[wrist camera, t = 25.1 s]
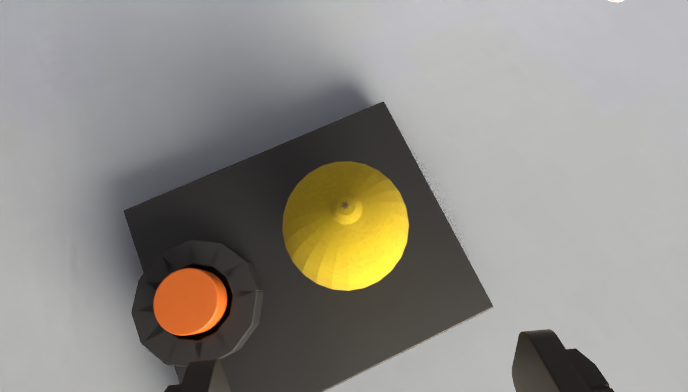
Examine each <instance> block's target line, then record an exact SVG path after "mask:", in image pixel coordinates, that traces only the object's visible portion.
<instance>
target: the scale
mask: <svg viewBox="0 0 688 392" xmlns="http://www.w3.org/2000/svg"><path fill="white" fill-rule="evenodd" d="M345 161H352V162H357V163H362V164H366V165H368V166H370V167H372V168H374V169H376V170H378V171H380V172H381V173H382V174H383V175H385V176H386V177H387V178H388V179H390V180H391V182H392V183H393V184H394V186H395V187H396V188H397V189H398V191H399V192H400V194H401V196H402V199H403V201H404V203H405V206H406V209H407V216H408V222H409V228H408V238H407V243H406V246H405V249H404V251H403V254H402V257H401V258H400V260H399V261H398V262H397V264H396V265H395V267H394V268H393V269H392V271H391V272H389V273H388V274H387V275H386V276H385V277H383V278H382V279H381V280H380V281H378V282H376V283H374V284H372V285H370V286H367V287H365V288H361V289H355V290H350V291H346V290H333V289H330V288H327V287H324V286H321V285H319V284H316V283H315V282H313V281H312V280H311V279H309V278H308V277H306V276H305V275H303V273H302V272H301V271H300V270H299V269H298V268H297V266H296V265H295V264H294V263H293V261H292V259H291V257H290V255H289V253H288V251H287V249H286V247H285V242H284V237H283V231H282V228H283V214H284V210H285V207H286V204H287V201H288V198H289V196H290V195H291V193H292V192H293V190H294V188H295V187H296V185H297V184H298V183H299V182H300V181H301V180H302V179H303V178H304V177H305V176H306V175H307V174H309V173H310V172H312V171H314V170H315V169H317V168H319V167H321V166H323V165H326V164H330V163H333V162H345ZM124 213H125V216H126V219H127V222H128V226H129V229H130V232H131V235H132V238H133V241H134V244H135V247H136V250H137V253H138V256H139V259H140V262H141V265H142V268H143V271H144V274H143V275H142V276H141V277H140V279H139V281H138V286H137V290H136V295H135V299H134V304H133V308H132V316H133V319H134V322H135V325H136V328H137V332H138V335H139V338H140V341H141V343H142V345H143V346H145V347H146V348H147V349H148V350H149V351H151V352H152V353H153V354H154V355H155V356H157V357H158V358H159V359H160V360H162V361H163V362H164V363H165V364H167V365H174V366H175V369H176V372H177V375H178V378H179V381H180V384H182V381H183V378H184V375H185V372H186V369H187V366H188V364H189V363H190V362H192V361H201V360H212V359H220V360H221V361H222V364H223V367H224V370H225V373H226V376H227V380H228V383H229V386H230V389H231V392H324V391H326V390H328V389H330V388H332V387H334V386H336V385H338V384H340V383H342V382H344V381H346V380H348V379H350V378H352V377H354V376H356V375H358V374H360V373H362V372H364V371H366V370H368V369H370V368H372V367H374V366H376V365H378V364H380V363H382V362H384V361H386V360H388V359H391V358H393V357H395V356H397V355H399V354H401V353H403V352H405V351H407V350H409V349H411V348H413V347H415V346H417V345H419V344H421V343H423V342H425V341H427V340H429V339H431V338H433V337H435V336H437V335H439V334H441V333H443V332H445V331H447V330H449V329H451V328H453V327H455V326H457V325H459V324H461V323H463V322H465V321H467V320H469V319H471V318H473V317H475V316H477V315H479V314H481V313H483V312H485V311H487V310H489V309H491V308H493V305H492V303H491V301H490V299H489V298H488V296H487V294H486V292H485V290H484V288H483V286H482V284H481V283H480V281H479V279H478V277H477V275H476V273H475V271H474V269H473V268H472V266H471V264H470V262H469V260H468V258H467V256H466V254H465V253H464V251H463V249H462V247H461V245H460V243H459V241H458V239H457V238H456V236H455V234H454V232H453V230H452V228H451V226H450V224H449V223H448V221H447V219H446V217H445V215H444V213H443V211H442V209H441V208H440V206H439V204H438V202H437V200H436V198H435V196H434V194H433V193H432V191H431V189H430V187H429V185H428V183H427V181H426V179H425V178H424V176H423V174H422V172H421V170H420V168H419V166H418V164H417V163H416V161H415V159H414V157H413V155H412V153H411V151H410V150H409V148H408V146H407V144H406V142H405V140H404V138H403V136H402V135H401V133H400V131H399V129H398V127H397V125H396V123H395V121H394V120H393V118H392V116H391V114H390V112H389V110H388V108H387V106H386V105H385V103H384V102H381V103H379V104H376V105H374V106H372V107H369V108H367V109H364V110H362V111H360V112H357V113H355V114H352V115H350V116H348V117H345V118H343V119H341V120H338V121H336V122H333V123H331V124H329V125H326V126H324V127H322V128H319V129H317V130H314V131H312V132H310V133H307V134H305V135H303V136H300V137H298V138H295V139H293V140H291V141H288V142H286V143H284V144H281V145H279V146H276V147H274V148H272V149H269V150H267V151H264V152H262V153H260V154H257V155H255V156H253V157H250V158H248V159H245V160H243V161H241V162H238V163H236V164H234V165H231V166H229V167H226V168H224V169H222V170H219V171H217V172H215V173H212V174H210V175H207V176H205V177H203V178H200V179H198V180H196V181H193V182H191V183H188V184H186V185H184V186H181V187H179V188H176V189H174V190H172V191H169V192H167V193H165V194H162V195H160V196H157V197H155V198H153V199H150V200H148V201H146V202H143V203H141V204H138V205H136V206H134V207H131V208H129V209H127V210H124ZM183 268H196V269H200V270H204V271H208V272H211V273H213V274H214V275H216V276H217V277H218V278H219V279H220V280H221V281H222V282H223V284H224V286H225V288H226V291H227V307H226V310H225V313H224V315H223V317H222V318H221V320H220V321H219V322H218V323H217V324H216V325H215V326H214V327H212V328H211V329H209V330H207V331H205V332H202V333H198V334H192V335H186V336H180V335H175V334H172V333H170V332H168V331H166V330H165V329H164V328H162V327H161V325H160V324H159V323H158V321H157V319H156V317H155V314H154V309H153V301H154V296H155V293H156V290H157V288H158V286H159V285H160V283H161V282H162V281H163V280H164V279H165V278H166V277H167V276H168V275H169V274H171V273H172V272H174V271H176V270H179V269H183Z"/></svg>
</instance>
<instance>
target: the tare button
mask: <svg viewBox="0 0 688 392" xmlns="http://www.w3.org/2000/svg"><path fill="white" fill-rule="evenodd" d="M226 307H227V291H226V288H225V286H224V284H223V282H222V281H221V280H220V279H219V278H218V277H217V276H216V275H214V274H213V273H211V272H208V271H204V270H200V269H196V268H183V269H179V270H176V271H174V272H172V273H171V274H169V275H168V276H167V277H166V278H165V279H164V280H163V281H162V282H161V283H160V285H159V286H158V288H157V290H156V293H155V296H154V301H153V309H154V314H155V317H156V319H157V321H158V323H159V324H160V325H161V327H162V328H164V329H165V330H166V331H168V332H170V333H172V334H175V335H180V336H186V335H192V334H198V333H202V332H205V331H207V330H209V329H211V328H212V327H214V326H215V325H216V324H217V323H218V322H219V321H220V320H221V318H222V317H223V315H224V313H225V310H226Z"/></svg>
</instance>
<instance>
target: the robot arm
mask: <svg viewBox="0 0 688 392" xmlns="http://www.w3.org/2000/svg"><path fill="white" fill-rule="evenodd" d="M512 377H513V382H514V386H515V389H516V392H614V391H613V389H612V388H611V389H610V387H609V384H608V382H607V381H606V379H605V378H604V377H603V375H602V374H601V372H600V371H599V369H598V368H597V366H596V365H595V364H594V363H593V362H591V361H590V360H589V359H588V358H587V357H585V356H584V355H583V354H582V353H581V352H579V351H578V350H577V349H565V347H564V346H563V344H562V343H561V341H560V340H559V338H558V337H557V335H556V334H555V333H554V332H553V331H552V330H550V329H547V330H536V331H525V332H521V333H520V334H519V338H518V342H517V347H516V352H515V357H514V361H513V366H512ZM164 392H231V389H230V386H229V383H228V380H227V376H226V373H225V370H224V367H223V364H222V361H221V360H220V359H212V360H201V361H192V362H190V363H189V364H188V366H187V369H186V372H185V375H184V378H183V381H182V384H181V385H170V386H168V387H167V389H166V390H165V391H164Z"/></svg>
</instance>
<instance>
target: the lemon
mask: <svg viewBox="0 0 688 392" xmlns="http://www.w3.org/2000/svg"><path fill="white" fill-rule="evenodd" d="M408 228H409V222H408V216H407V209H406V206H405V203H404V201H403V199H402V196H401V194H400V192H399V191H398V189H397V188H396V187H395V186H394V184H393V183H392V182H391V180H390V179H388V178H387V177H386V176H385V175H383V174H382V173H381V172H380V171H378V170H376V169H374V168H372V167H370V166H368V165H366V164H362V163H357V162H352V161H345V162H333V163H330V164H326V165H323V166H321V167H319V168H317V169H315V170H314V171H312V172H310V173H309V174H307V175H306V176H305V177H304V178H303V179H302V180H301V181H300V182H299V183H298V184H297V185H296V187H295V188H294V190H293V192H292V193H291V195H290V196H289V198H288V201H287V204H286V207H285V210H284V214H283V228H282V231H283V237H284V242H285V247H286V249H287V251H288V253H289V255H290V257H291V259H292V261H293V263H294V264H295V265H296V266H297V268H298V269H299V270H300V271H301V272H302V273H303V275H305V276H306V277H308V278H309V279H311V280H312V281H313V282H315V283H316V284H319V285H321V286H324V287H327V288H330V289H333V290H346V291H350V290H355V289H361V288H365V287H367V286H370V285H372V284H374V283H376V282H378V281H380V280H381V279H382V278H383V277H385V276H386V275H387V274H388V273H389V272H391V271H392V269H393V268H394V267H395V265H396V264H397V262H398V261H399V260H400V258H401V257H402V254H403V251H404V249H405V246H406V243H407V238H408Z"/></svg>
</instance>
